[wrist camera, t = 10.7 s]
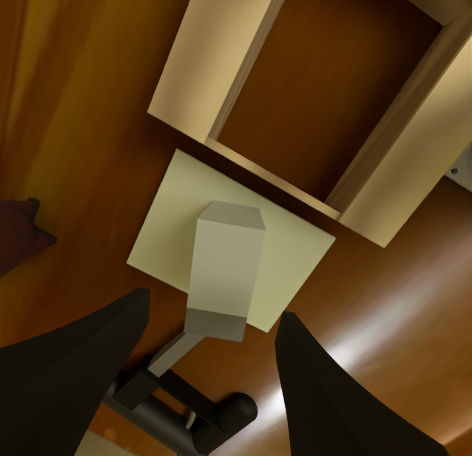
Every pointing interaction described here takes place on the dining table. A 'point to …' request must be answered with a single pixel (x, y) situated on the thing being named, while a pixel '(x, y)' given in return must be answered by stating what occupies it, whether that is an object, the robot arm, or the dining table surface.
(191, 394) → the door handle
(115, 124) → the dining table surface
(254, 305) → the sage board
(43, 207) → the dining table surface
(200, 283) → the block
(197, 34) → the carton
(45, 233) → the mate gourd
